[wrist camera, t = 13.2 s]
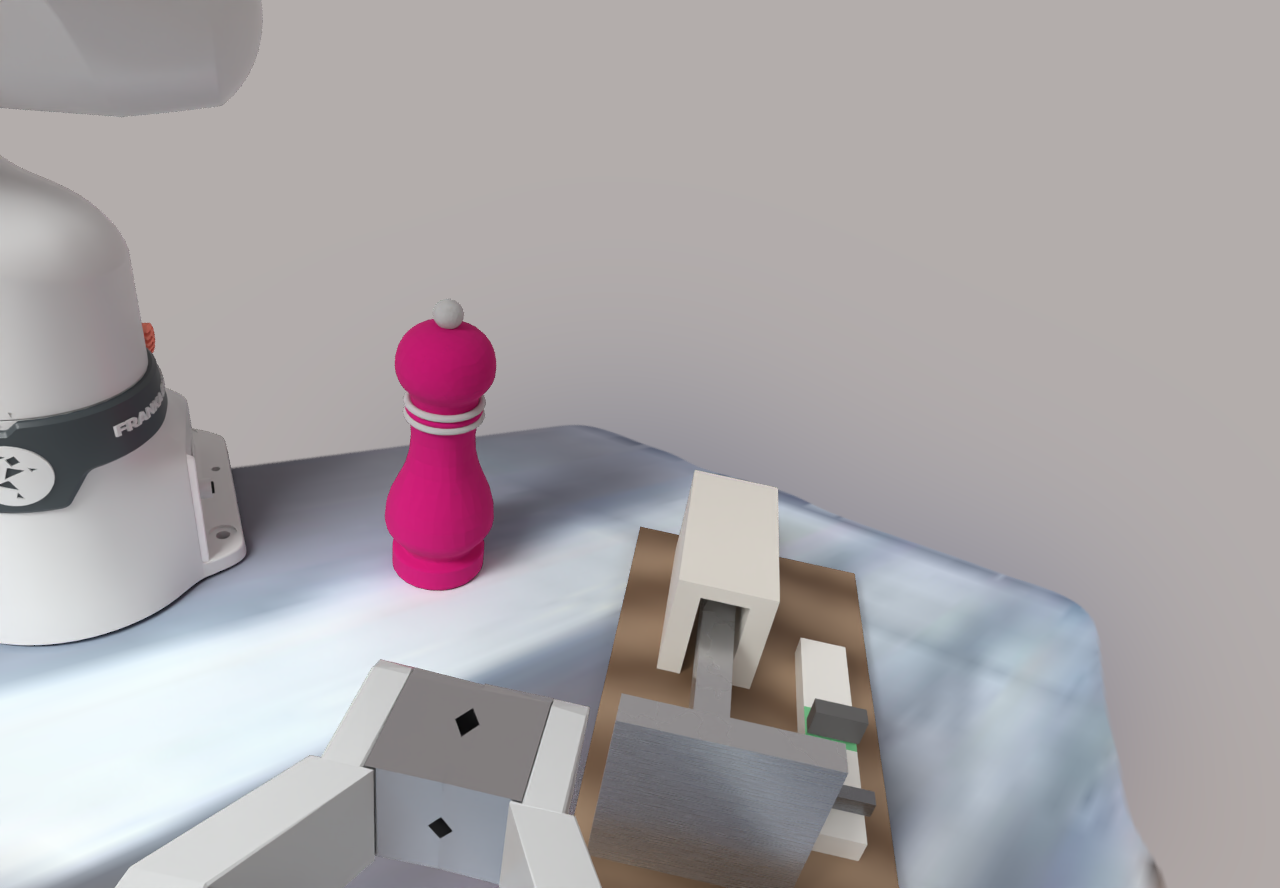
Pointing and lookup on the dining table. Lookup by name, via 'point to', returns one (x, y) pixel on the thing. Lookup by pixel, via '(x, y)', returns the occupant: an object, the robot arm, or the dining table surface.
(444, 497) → the pepper mill
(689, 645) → the board
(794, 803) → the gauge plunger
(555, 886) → the robot arm
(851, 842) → the gauge scale
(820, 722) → the block
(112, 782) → the dining table surface
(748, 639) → the block
